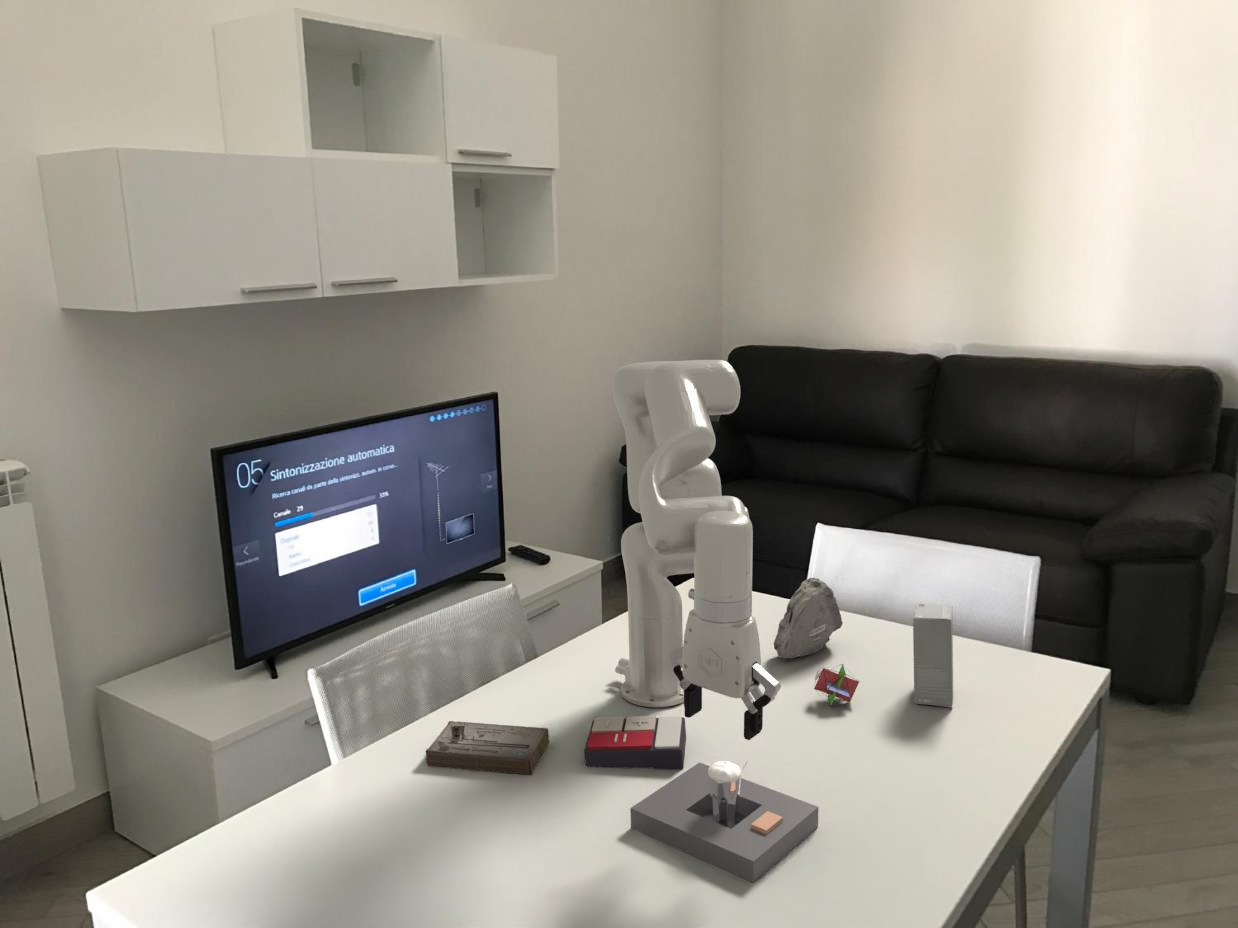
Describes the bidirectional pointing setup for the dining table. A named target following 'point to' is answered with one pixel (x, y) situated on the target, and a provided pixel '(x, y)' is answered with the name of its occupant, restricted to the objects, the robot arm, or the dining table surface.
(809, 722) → the dining table surface
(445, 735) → the box
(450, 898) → the dining table surface
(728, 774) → the milkshake
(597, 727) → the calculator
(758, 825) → the socket plate
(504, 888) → the dining table surface
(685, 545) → the robot arm
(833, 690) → the geometric puzzle
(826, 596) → the decorative rock
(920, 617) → the skincare box
